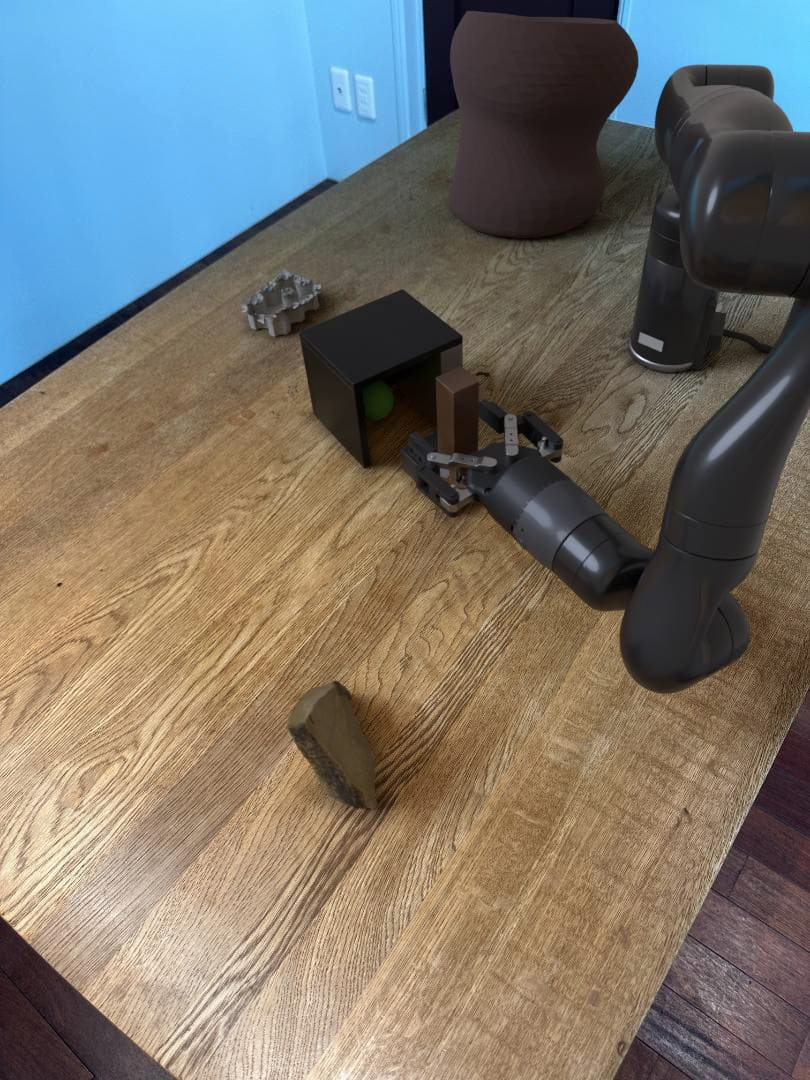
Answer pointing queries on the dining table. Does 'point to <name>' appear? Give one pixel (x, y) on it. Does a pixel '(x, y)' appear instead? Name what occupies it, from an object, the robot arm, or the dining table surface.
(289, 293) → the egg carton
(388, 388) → the ball
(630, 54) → the vase
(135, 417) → the dining table surface
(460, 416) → the post on dark base
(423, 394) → the black open box
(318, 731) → the rock
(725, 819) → the dining table surface
